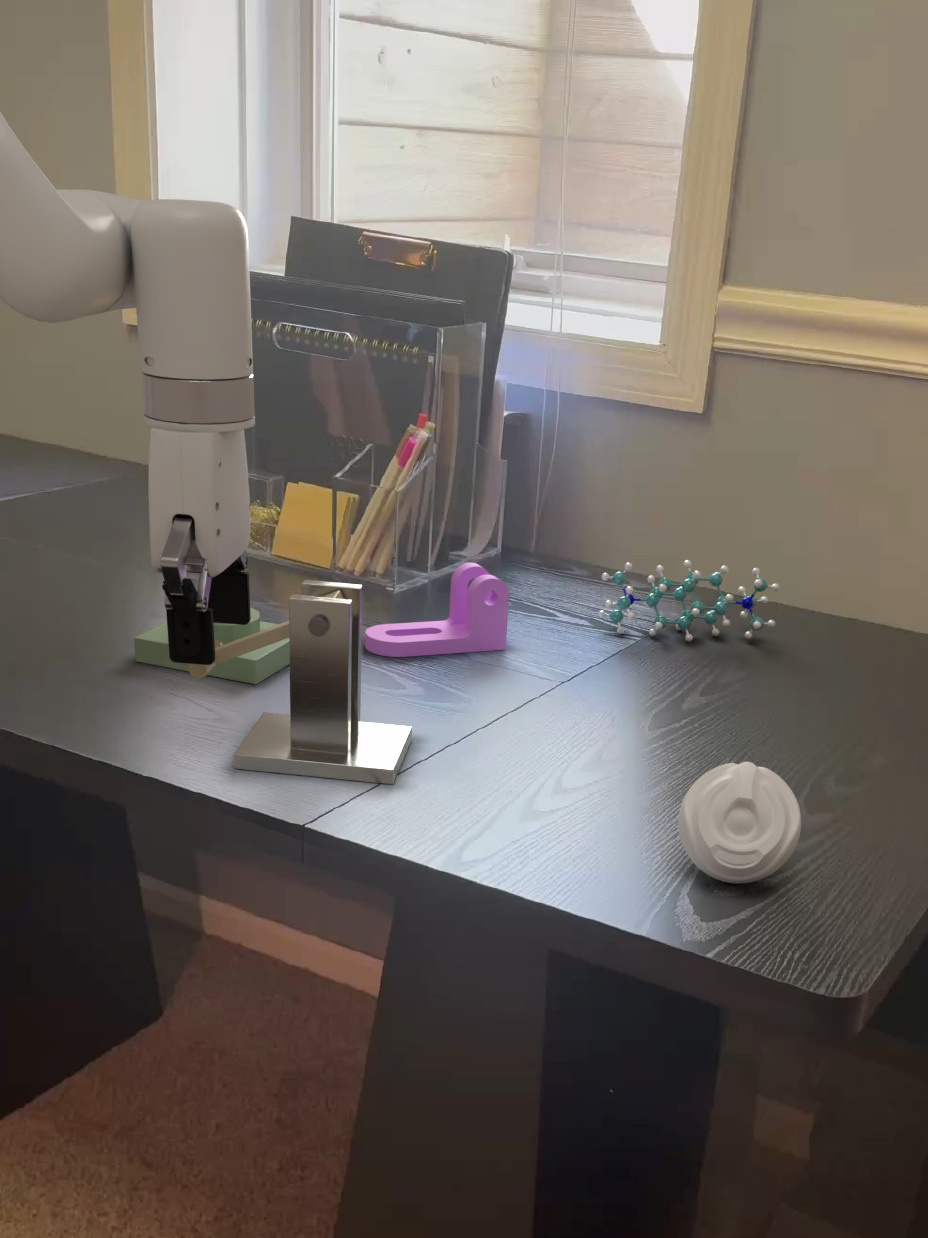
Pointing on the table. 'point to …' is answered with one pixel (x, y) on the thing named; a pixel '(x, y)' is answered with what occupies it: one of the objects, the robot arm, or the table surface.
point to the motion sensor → (739, 822)
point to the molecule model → (680, 595)
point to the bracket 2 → (452, 621)
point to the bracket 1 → (325, 699)
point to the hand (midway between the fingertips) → (212, 641)
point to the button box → (241, 668)
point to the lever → (247, 644)
